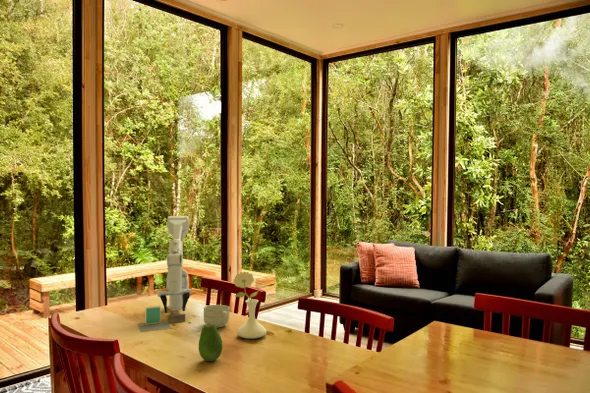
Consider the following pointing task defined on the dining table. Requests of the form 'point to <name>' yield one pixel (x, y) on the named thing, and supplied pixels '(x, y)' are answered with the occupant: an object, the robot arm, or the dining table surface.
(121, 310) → the dining table surface
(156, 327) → the mat
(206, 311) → the teacup
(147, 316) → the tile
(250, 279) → the flower in vase
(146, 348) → the dining table surface
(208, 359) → the fruit
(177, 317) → the hammer
